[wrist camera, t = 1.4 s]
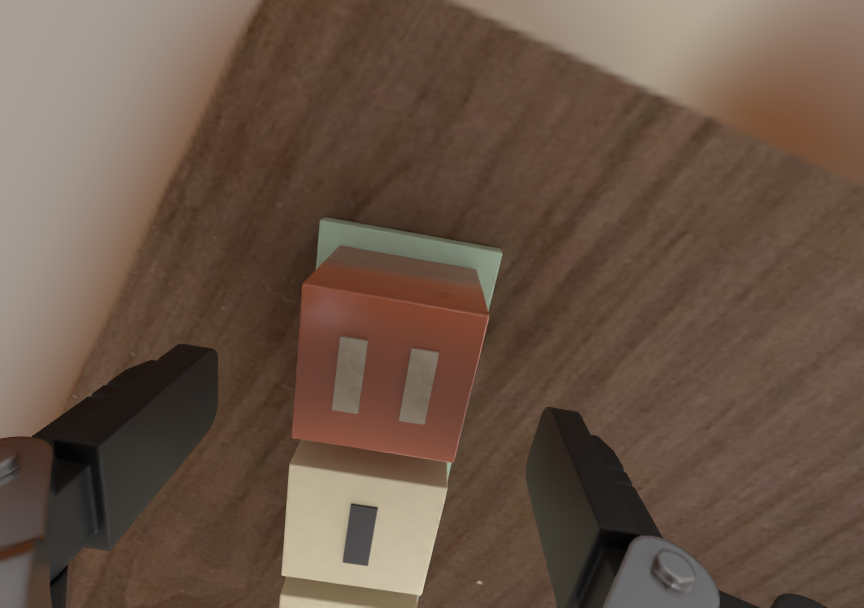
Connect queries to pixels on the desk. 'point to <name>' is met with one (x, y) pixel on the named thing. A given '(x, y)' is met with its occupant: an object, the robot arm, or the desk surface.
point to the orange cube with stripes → (387, 353)
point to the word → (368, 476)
